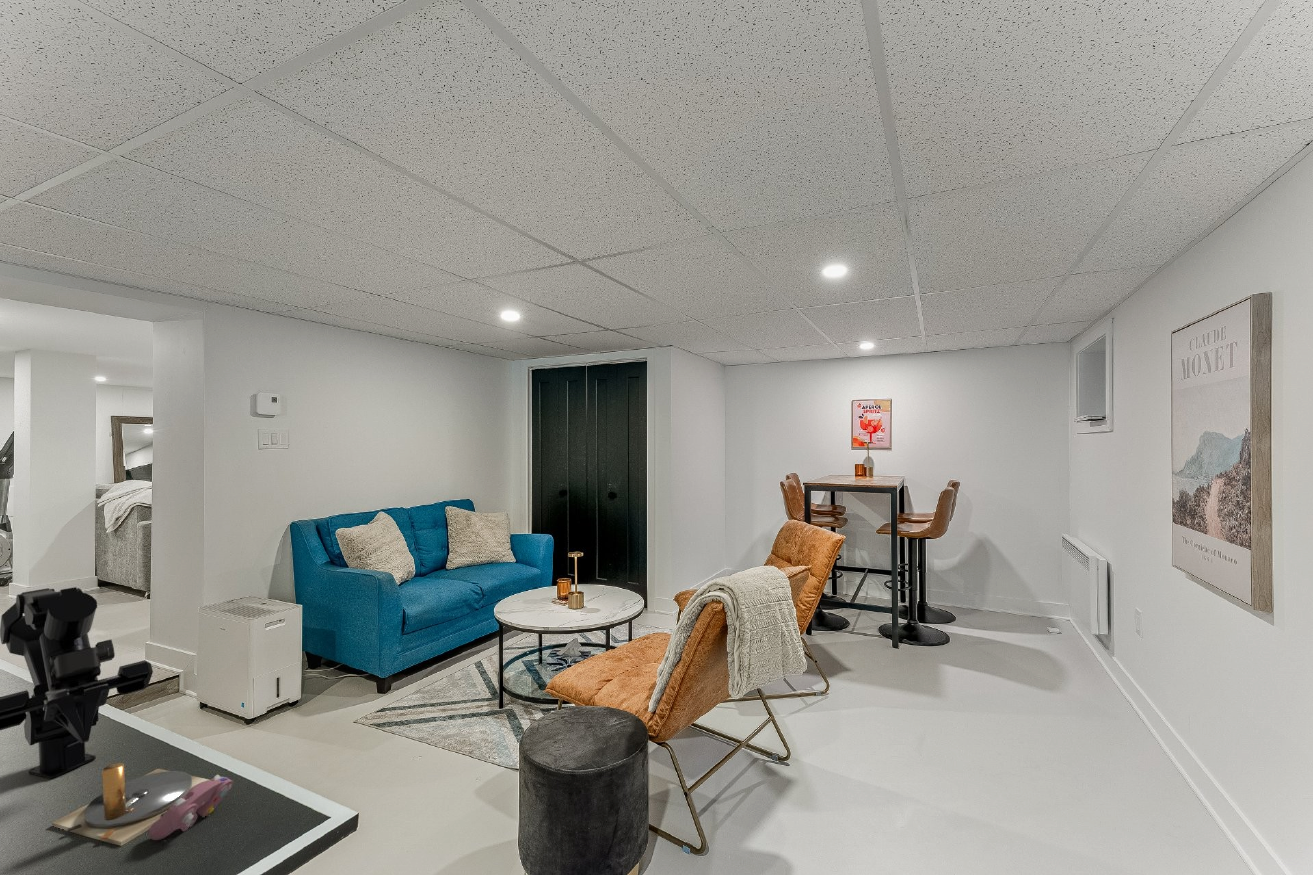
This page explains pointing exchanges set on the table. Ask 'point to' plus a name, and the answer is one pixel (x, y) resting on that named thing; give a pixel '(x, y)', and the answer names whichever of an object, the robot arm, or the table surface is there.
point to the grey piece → (134, 796)
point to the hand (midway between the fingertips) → (85, 741)
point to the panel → (116, 834)
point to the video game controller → (191, 807)
